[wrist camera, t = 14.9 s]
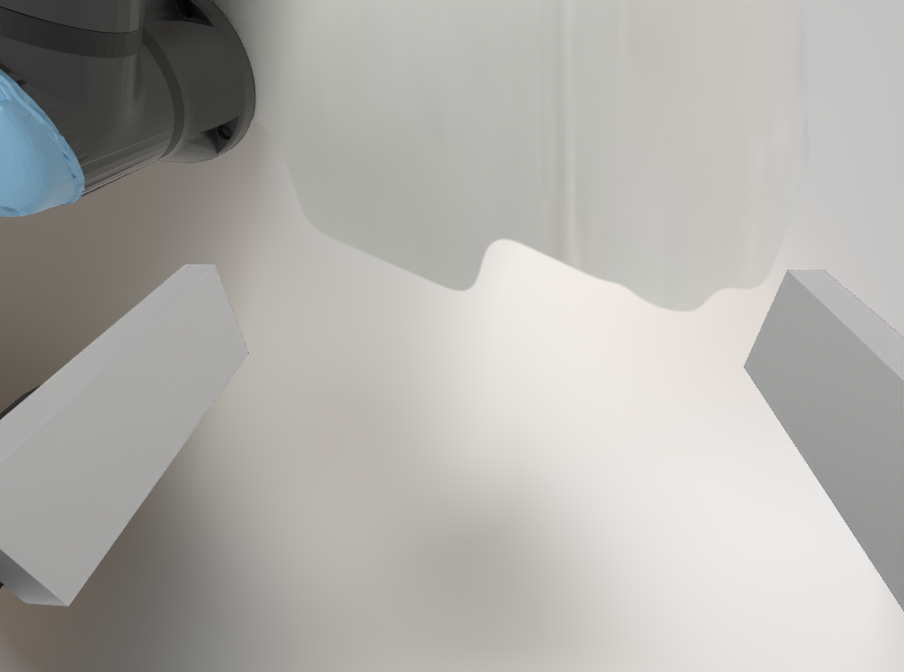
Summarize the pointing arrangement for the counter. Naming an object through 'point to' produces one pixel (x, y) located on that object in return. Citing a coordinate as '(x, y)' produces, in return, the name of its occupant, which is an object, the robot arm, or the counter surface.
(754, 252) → the counter surface
